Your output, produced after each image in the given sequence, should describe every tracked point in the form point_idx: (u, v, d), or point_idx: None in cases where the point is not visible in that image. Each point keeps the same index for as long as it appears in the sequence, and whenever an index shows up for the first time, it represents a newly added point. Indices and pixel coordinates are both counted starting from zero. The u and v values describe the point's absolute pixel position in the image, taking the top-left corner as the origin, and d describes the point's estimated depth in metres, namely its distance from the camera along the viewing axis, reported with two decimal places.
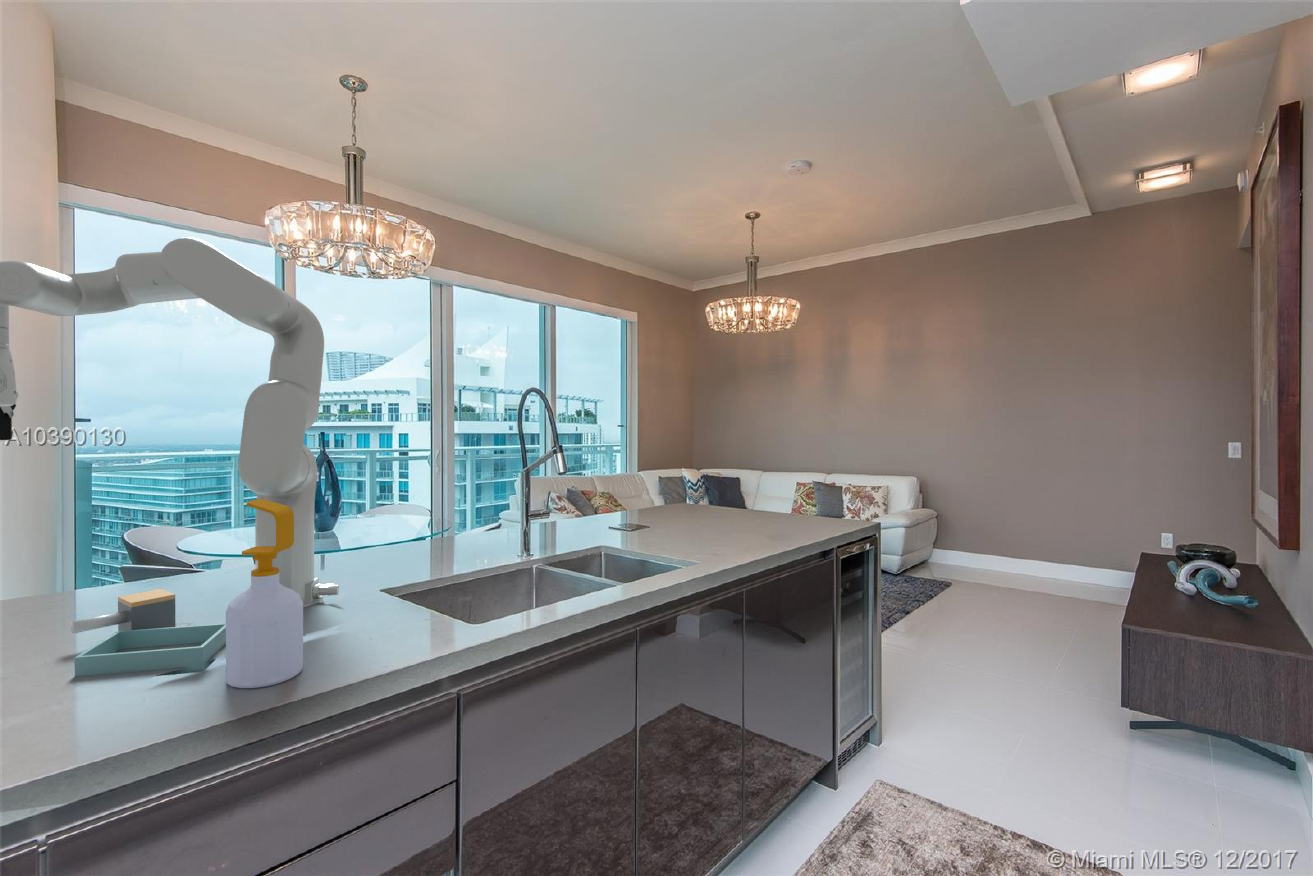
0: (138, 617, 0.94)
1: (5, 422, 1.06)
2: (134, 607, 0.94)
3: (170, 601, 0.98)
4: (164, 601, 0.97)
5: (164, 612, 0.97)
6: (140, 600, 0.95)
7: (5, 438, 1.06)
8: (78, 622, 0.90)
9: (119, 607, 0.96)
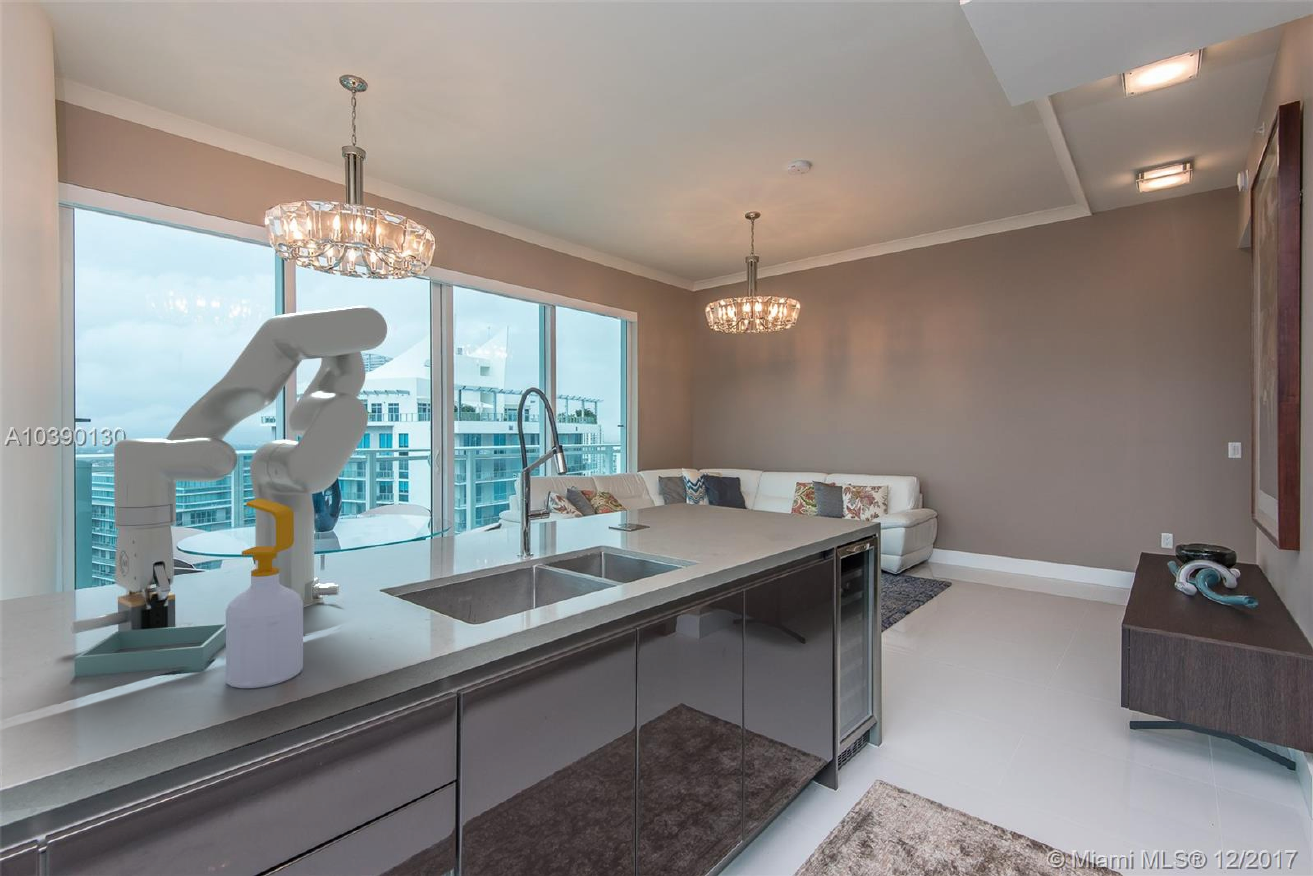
0: (138, 617, 0.94)
1: None
2: (134, 607, 0.94)
3: (170, 601, 0.98)
4: None
5: None
6: (140, 600, 0.95)
7: None
8: (78, 622, 0.90)
9: (119, 607, 0.96)
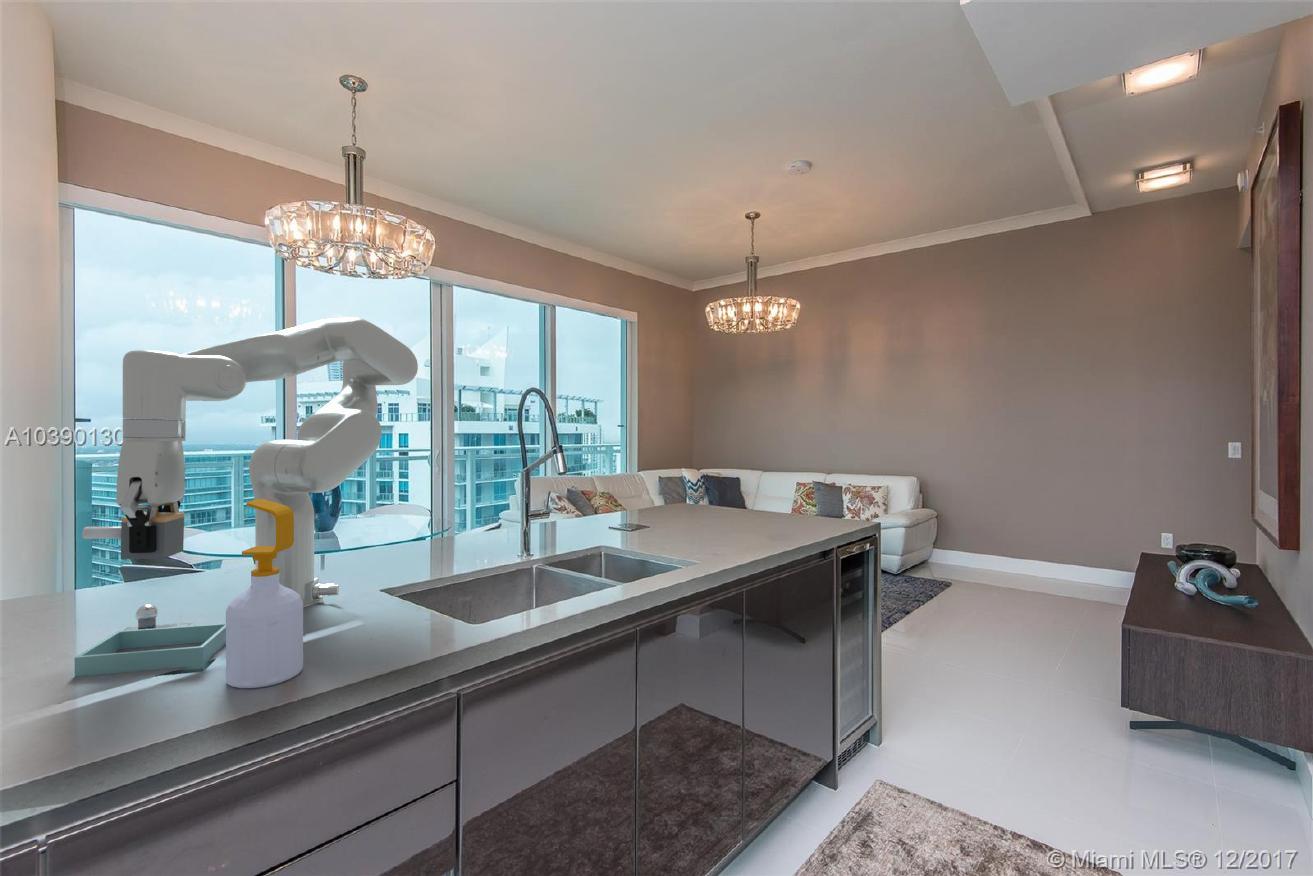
0: (128, 534, 0.91)
1: None
2: (124, 523, 0.91)
3: (160, 524, 0.92)
4: (154, 522, 0.92)
5: None
6: None
7: None
8: (87, 528, 0.92)
9: None
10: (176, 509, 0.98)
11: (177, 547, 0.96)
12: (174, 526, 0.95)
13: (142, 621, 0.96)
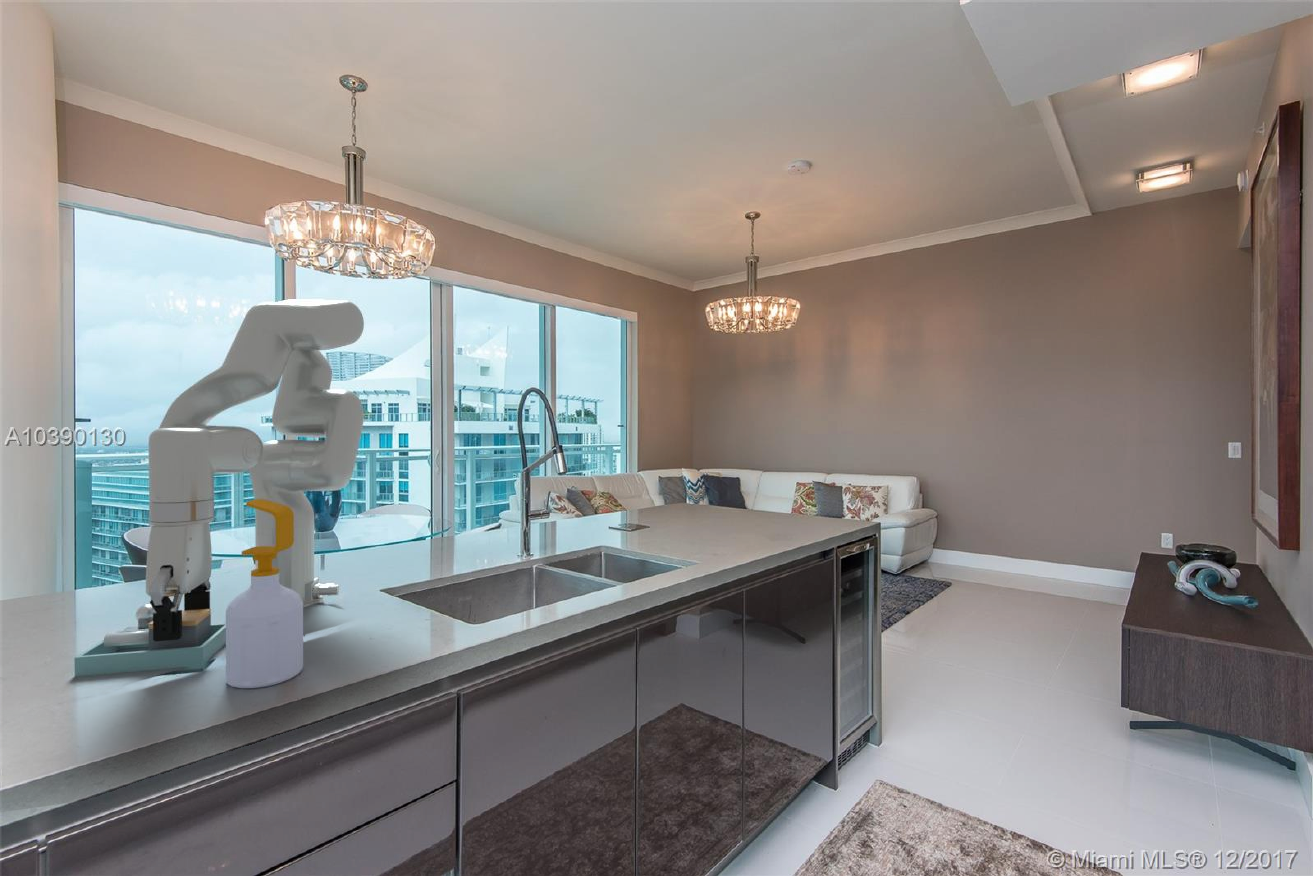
0: None
1: None
2: (151, 629, 0.86)
3: (190, 627, 0.87)
4: (183, 626, 0.87)
5: (184, 639, 0.87)
6: None
7: None
8: (109, 636, 0.86)
9: None
10: (208, 581, 0.95)
11: None
12: (203, 626, 0.90)
13: (142, 621, 0.96)
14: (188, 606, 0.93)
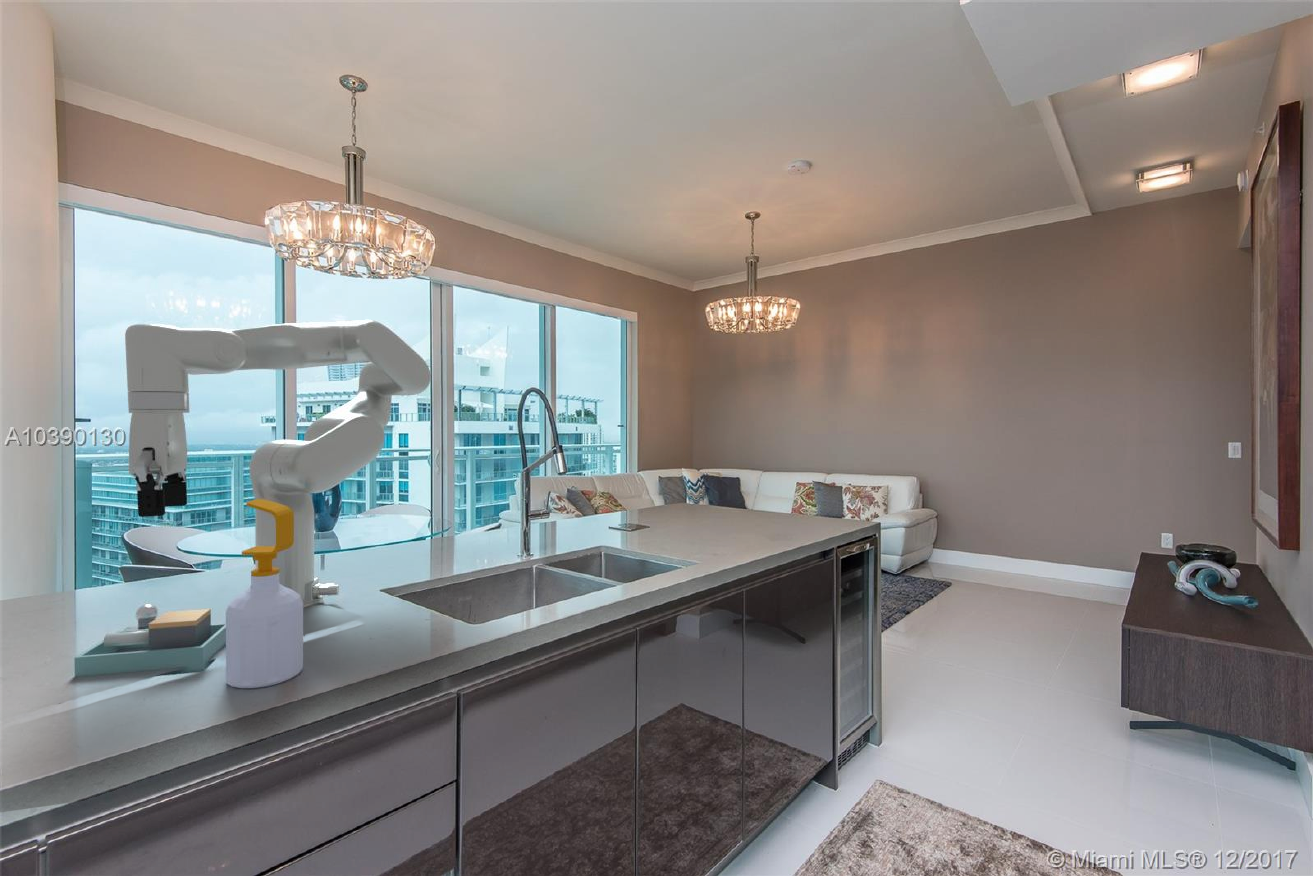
0: (156, 640, 0.86)
1: None
2: (151, 629, 0.86)
3: (190, 627, 0.87)
4: (183, 626, 0.87)
5: (184, 639, 0.87)
6: (160, 622, 0.87)
7: None
8: (109, 636, 0.86)
9: None
10: (184, 472, 1.03)
11: None
12: (203, 626, 0.90)
13: (142, 621, 0.96)
14: (166, 494, 1.01)
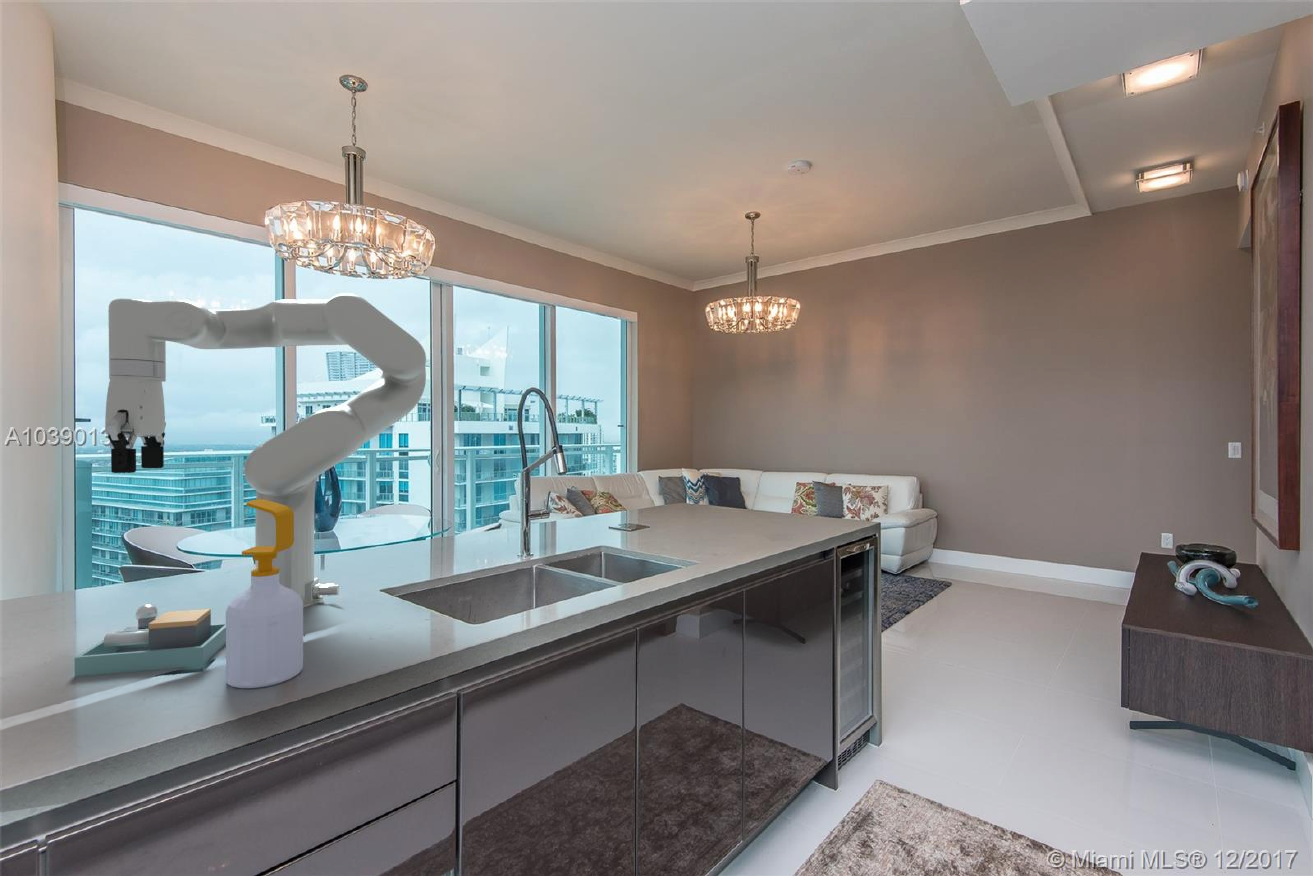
0: (156, 640, 0.86)
1: None
2: (151, 629, 0.86)
3: (190, 627, 0.87)
4: (183, 626, 0.87)
5: (184, 639, 0.87)
6: (160, 622, 0.87)
7: None
8: (109, 636, 0.86)
9: None
10: (161, 437, 1.12)
11: None
12: (203, 626, 0.90)
13: (142, 621, 0.96)
14: (144, 457, 1.10)
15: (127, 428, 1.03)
